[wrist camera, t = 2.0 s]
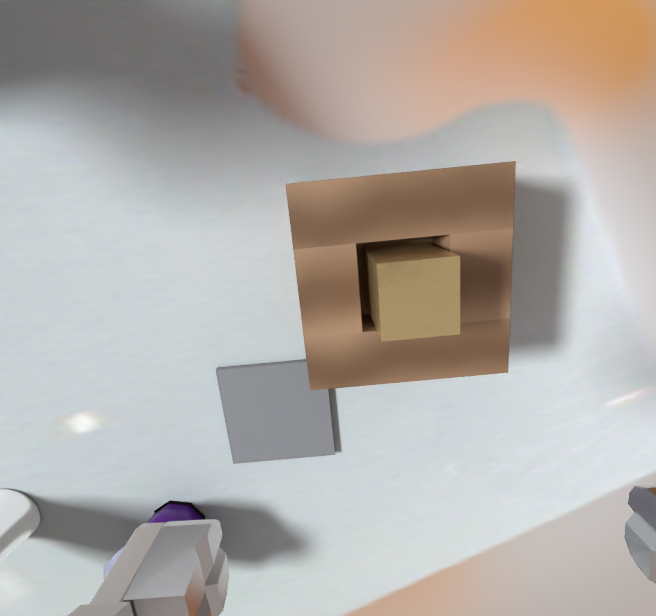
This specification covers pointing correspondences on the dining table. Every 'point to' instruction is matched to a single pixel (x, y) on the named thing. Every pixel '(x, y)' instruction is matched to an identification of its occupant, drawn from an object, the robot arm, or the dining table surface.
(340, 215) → the wooden slotted box
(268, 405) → the slate pad
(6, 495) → the beer glass
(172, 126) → the dining table surface
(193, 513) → the potion bottle
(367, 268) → the tan wooden block
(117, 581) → the robot arm
